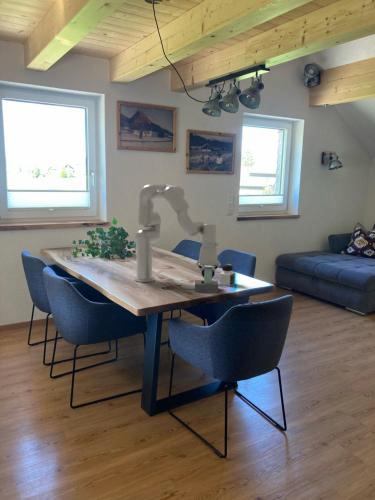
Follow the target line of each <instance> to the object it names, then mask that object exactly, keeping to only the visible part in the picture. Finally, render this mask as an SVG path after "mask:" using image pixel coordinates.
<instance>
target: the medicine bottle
mask: <svg viewBox="0 0 375 500" xmlns="http://www.w3.org/2000/svg"><path fill="white" fill-rule="evenodd" d="M235 278H236V273H235V272H233V265H232V264H230V263H227V264H226V263H225V264H222V271H221V272H220V273H219V279H218V280H219V281H218V285H219V286H227V287H231V286H233V285H234V284H235V283H236V282H235V281H236V279H235Z"/></svg>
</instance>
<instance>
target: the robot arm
mask: <svg viewBox="0 0 375 500" xmlns="http://www.w3.org/2000/svg"><path fill="white" fill-rule="evenodd" d="M185 195H186V194H185V189H184V188H183V187H181V186H180V185H179V186H178V185H171V184H164V183H163V184H162V183H159V184H158V183H151V184H146V185H144V186H143V187H142V188H141V189H140V191H139V196H138V199H139V202H138V203H139V205H138V217H137V220H138V221H137V222H138V225H139V226H140V227H141V228H143V229H140V230H137V232H135V235H134V241H135V243H134V244H135V248H136V249H135V250H136V276H135V277H134V278H133V280H134V281H135V282H139V283H148V282H149V283H151V282H154V281H155V279H156V278H155V277H154V276H153V249H152V246H151V244H155V243H156V242H158V241H159V239H160V237H161V236H160V234H161V223H162V219H161V215H160V214H159V212H157V211H155V210H154V201H153V200H154V199H166V201H167V203H168V204H169V205H170V206H171V208H172V209H173V210H174V212H175V213H176V218H177V222H178V224H179V226H180V227H181V229H182V230H183V231H184V233H185V234H186V235H187V236H189V237H195V236H200V235H202V237H201V240H202V241H201V247H200V250H199V259H198V260H197V261H196V262H195V265H196V266H197V267H198V268H199V269H200V270H201V277H202V278H204V267H206V266H210V267H212V268H213V271H212V279H214V277H215V271H216V270H217V269H218V268H220V267H221V266H222V263H221V262H220V261H219V259H218V247H217V246H219V243H217V241H216V239H217V238H216V237H217V225H216V224H215V223H212V222H203V221H193V220H192V219H191V217H190V215H189V214H188V209H189V205H190V204H189V203H188V202H187V200H186V199H185Z"/></svg>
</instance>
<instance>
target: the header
mask: <svg viewBox="0 0 375 500" xmlns="http://www.w3.org/2000/svg"><path fill="white" fill-rule="evenodd" d="M194 282H195V283H194V286H195V289H194V293H219V281H218V280H215V279H214V280H213V279H212V284H204V279H203V280H202V279H195V281H194Z"/></svg>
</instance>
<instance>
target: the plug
mask: <svg viewBox="0 0 375 500" xmlns="http://www.w3.org/2000/svg"><path fill="white" fill-rule="evenodd" d="M212 271H213V267H212V266H204V277H203V280H204V284H212V280H213V278H212Z"/></svg>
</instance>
